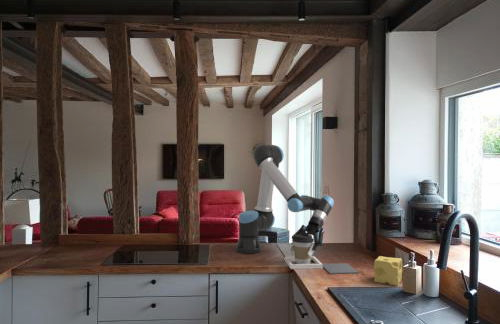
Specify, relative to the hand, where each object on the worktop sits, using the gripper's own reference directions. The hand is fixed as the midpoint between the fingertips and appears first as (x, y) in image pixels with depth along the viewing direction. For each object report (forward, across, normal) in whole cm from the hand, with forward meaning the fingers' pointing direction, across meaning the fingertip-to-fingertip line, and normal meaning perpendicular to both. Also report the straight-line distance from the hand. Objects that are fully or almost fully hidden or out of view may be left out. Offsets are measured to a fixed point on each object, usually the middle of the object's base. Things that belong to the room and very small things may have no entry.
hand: (299, 253), depth 193 cm
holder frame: (+3, 0, -6) cm, 7 cm away
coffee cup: (+3, 0, -6) cm, 7 cm away
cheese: (-1, -44, -11) cm, 45 cm away
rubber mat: (-2, -18, -11) cm, 21 cm away
